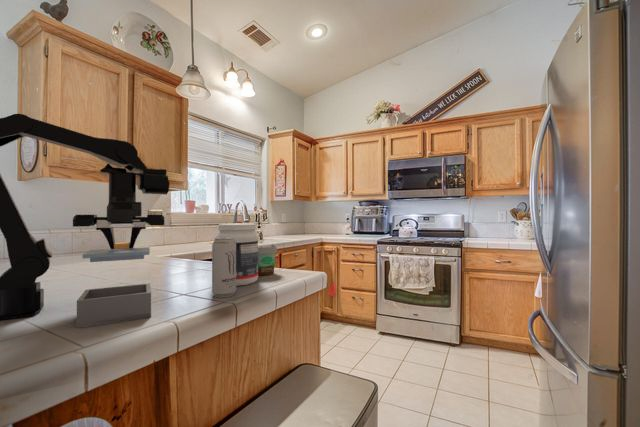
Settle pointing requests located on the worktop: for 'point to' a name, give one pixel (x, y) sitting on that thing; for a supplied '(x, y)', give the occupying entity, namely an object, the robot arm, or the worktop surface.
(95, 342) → the worktop surface
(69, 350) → the worktop surface
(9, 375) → the worktop surface
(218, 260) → the energy drink can
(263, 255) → the food container
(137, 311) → the parts tub
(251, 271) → the supplement tub
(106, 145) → the robot arm
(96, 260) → the lid
